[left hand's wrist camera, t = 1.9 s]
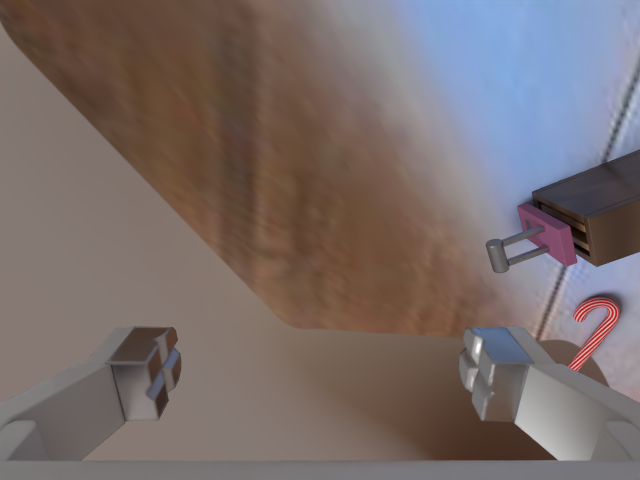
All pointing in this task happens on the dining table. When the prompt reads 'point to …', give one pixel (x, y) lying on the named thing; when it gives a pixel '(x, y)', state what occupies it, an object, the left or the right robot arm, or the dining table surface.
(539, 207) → the cabinet
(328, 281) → the dining table surface
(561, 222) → the drawer
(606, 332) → the candy cane
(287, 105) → the dining table surface
